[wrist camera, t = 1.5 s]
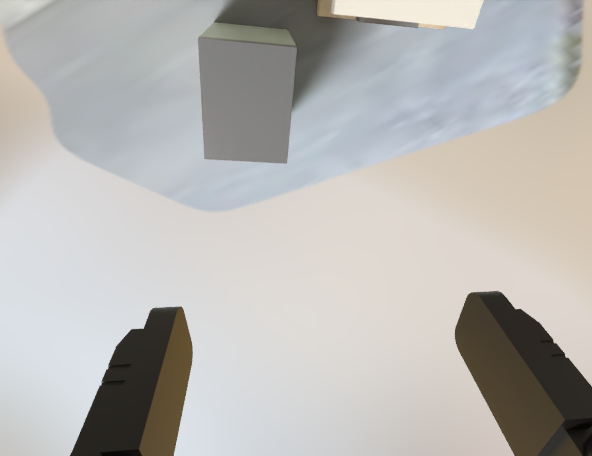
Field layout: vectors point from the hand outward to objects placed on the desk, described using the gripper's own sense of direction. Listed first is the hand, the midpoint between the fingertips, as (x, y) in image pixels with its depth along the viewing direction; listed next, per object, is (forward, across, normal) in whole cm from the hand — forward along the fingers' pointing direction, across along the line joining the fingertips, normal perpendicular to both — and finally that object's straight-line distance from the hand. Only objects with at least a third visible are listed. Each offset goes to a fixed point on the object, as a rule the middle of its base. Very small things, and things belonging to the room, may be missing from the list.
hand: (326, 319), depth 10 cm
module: (+19, +3, -3) cm, 19 cm away
